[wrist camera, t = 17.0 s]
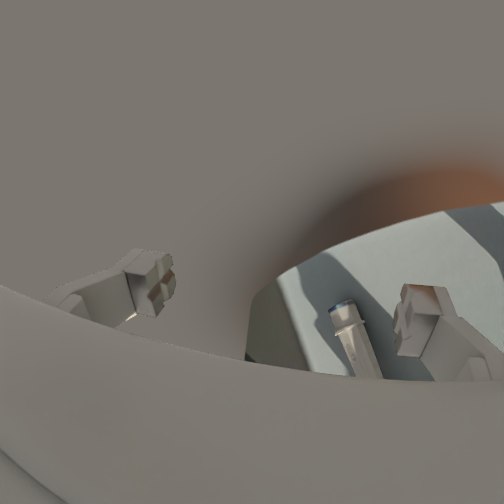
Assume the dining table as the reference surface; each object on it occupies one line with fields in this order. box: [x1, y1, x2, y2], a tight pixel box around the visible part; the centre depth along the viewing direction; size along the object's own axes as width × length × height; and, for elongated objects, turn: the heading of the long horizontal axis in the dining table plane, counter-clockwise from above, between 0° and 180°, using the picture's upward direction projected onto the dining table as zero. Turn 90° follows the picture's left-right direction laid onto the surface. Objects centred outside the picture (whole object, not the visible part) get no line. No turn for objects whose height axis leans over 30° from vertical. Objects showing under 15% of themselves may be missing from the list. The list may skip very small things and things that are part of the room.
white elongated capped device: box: [328, 299, 384, 379], centre depth 37 cm, size 5×7×25 cm
